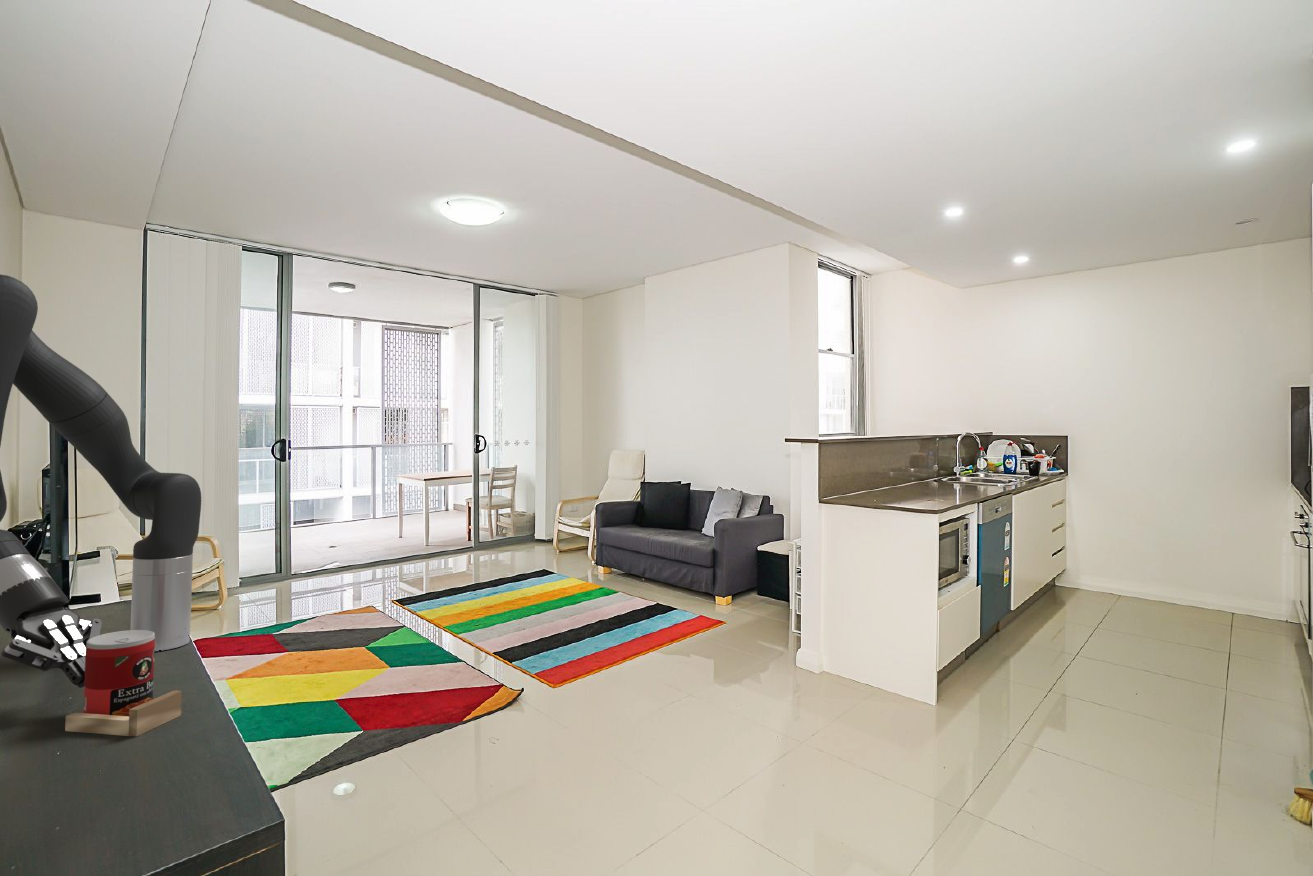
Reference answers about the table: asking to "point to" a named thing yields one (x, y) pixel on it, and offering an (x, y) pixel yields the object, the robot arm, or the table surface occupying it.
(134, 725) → the bar
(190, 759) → the table surface
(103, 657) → the canned food
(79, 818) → the table surface
